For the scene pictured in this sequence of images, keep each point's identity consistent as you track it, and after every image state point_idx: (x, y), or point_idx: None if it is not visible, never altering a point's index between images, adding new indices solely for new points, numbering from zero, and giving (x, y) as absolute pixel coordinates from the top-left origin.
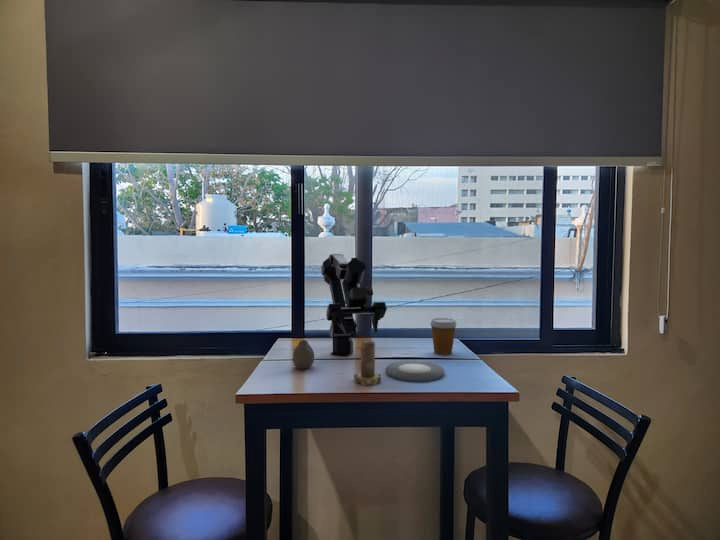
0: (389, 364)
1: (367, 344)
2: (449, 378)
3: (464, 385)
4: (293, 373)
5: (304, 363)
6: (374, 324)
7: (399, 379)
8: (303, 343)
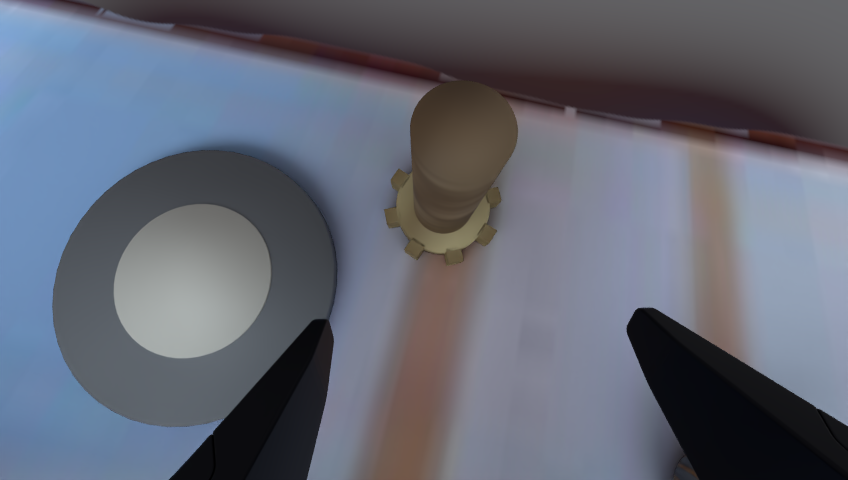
0: None
1: (477, 86)
2: (108, 172)
3: (105, 86)
4: None
5: None
6: (294, 413)
7: (311, 199)
8: None
